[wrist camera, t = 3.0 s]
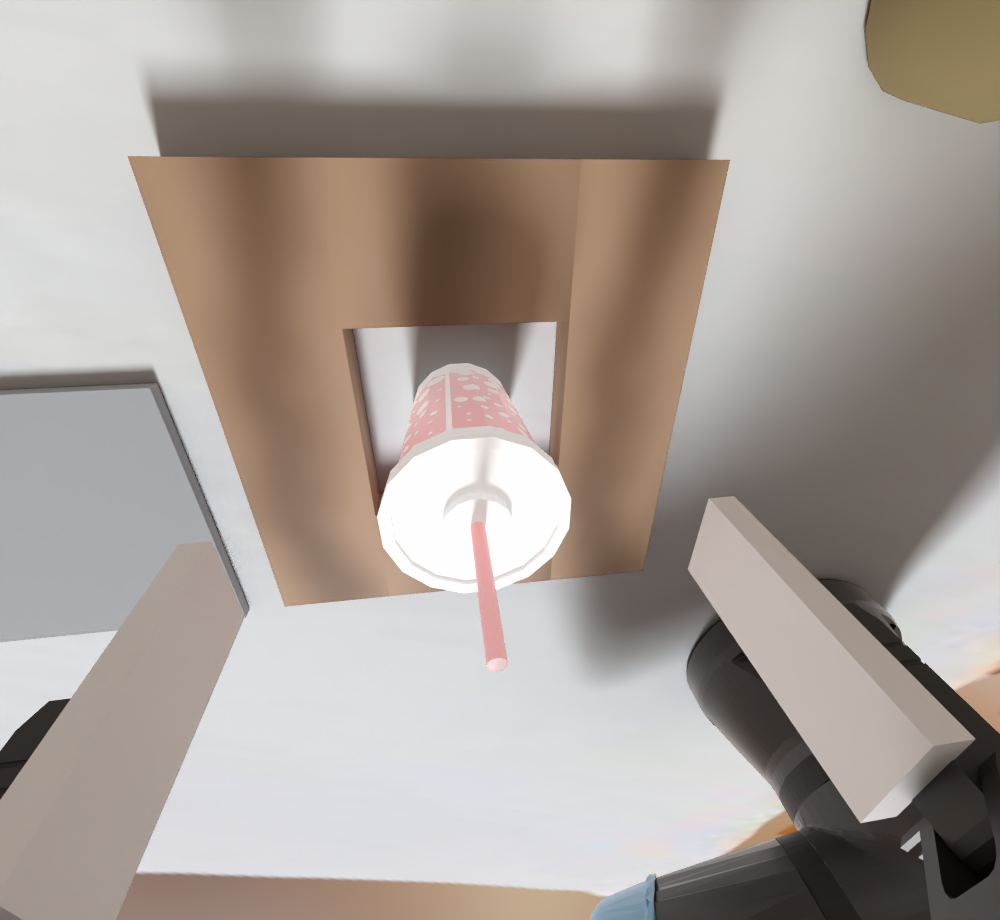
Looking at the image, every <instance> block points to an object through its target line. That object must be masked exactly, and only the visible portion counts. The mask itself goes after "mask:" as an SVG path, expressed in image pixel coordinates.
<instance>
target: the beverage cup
mask: <svg viewBox="0 0 1000 920" xmlns="http://www.w3.org/2000/svg"><path fill="white" fill-rule="evenodd" d="M570 511H571V497H570V495H569V492H568V490H567V488H566V485H565V483H564V481H563V479H562V476H561V474H560V472H559V469H558V467H557V465H555V463H554V461H553V459H552V457H550V456H549V455H548V454H547V453H546V452H544V451H543V450H542V449H541V448H540V447H538V446H537V445H536V444H535V442H534V440H533V439H532V437H531V435H530V433H529V432H528V430H527V428H526V426H525V425H524V423H523V421H522V419H521V418H520V416H519V414H518V412H517V411H516V409H515V407H514V405H513V403H512V402H511V400H510V398H509V396H508V395H507V393H506V391H505V389H504V388H503V386H502V384H501V382H500V381H499V380H498V379H497V378H496V377H495V376H493V375H492V374H491V373H490V372H489V371H488V370H487V369H484V368H481V367H478V366H475V365H472V364H469V363H461V364H448V365H446V366H444V367H442V368H440V369H437V370H435V371H433V372H431V373H430V374H429V375H428V377H427V378H426V379H425V380H424V381H423V382H422V383H421V384H420V385H419V387H418V390H417V393H416V396H415V400H414V403H413V407H412V411H411V415H410V419H409V423H408V427H407V431H406V435H405V439H404V443H403V447H402V451H401V455H400V459H399V463H398V464H397V465H396V466H395V467H394V468H393V469H392V470H391V471H390V474H389V477H388V480H387V484H386V487H385V490H384V493H383V496H382V499H381V504H380V507H379V510H378V515H377V518H378V523H379V528H380V534H381V539H382V544H383V548H384V549H385V550H386V551H387V553H388V554H389V555H390V556H391V558H392V559H393V560H394V562H395V563H396V564H397V565H398V567H399V568H400V569H401V570H402V572H404V573H406V574H408V575H410V576H412V577H413V578H415V579H417V580H419V581H421V582H422V583H424V584H426V585H428V586H430V587H433V588H438V589H444V590H450V591H455V592H461V593H469V592H478V597H479V606H480V614H481V623H482V631H483V640H484V648H485V657H486V665H487V669H488V670H490V671H492V672H498V671H502V670H504V669H505V668H506V667H507V665H508V662H507V655H506V649H505V643H504V637H503V631H502V625H501V619H500V613H499V606H498V600H497V594H496V589H500V588H502V587H505V586H507V585H510V584H512V583H514V582H517V581H519V580H522V579H524V578H526V577H529V576H530V575H531V574H533V573H534V572H535V571H536V570H537V569H539V568H540V567H541V566H542V565H543V564H545V563H546V562H547V561H548V560H549V559H551V558H552V557H553V556H554V555H555V553H556V551H557V549H558V548H559V546H560V544H561V542H562V541H563V539H564V537H565V535H566V533H567V532H568V530H569V524H570Z"/></svg>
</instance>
